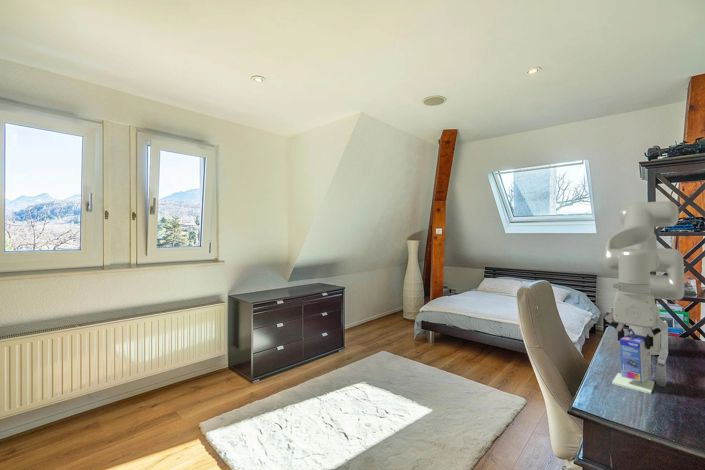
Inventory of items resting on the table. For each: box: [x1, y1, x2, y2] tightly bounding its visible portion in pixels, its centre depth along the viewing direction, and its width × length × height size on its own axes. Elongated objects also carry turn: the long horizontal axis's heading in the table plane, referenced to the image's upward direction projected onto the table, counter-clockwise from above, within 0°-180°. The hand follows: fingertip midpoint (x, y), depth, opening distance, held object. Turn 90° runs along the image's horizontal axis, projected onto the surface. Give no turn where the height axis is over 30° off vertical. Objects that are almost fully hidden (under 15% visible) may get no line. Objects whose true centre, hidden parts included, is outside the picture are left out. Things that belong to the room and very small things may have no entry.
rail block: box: [655, 361, 667, 387], centre depth 102 cm, size 4×2×6 cm, turn 132°
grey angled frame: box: [655, 322, 669, 364], centre depth 110 cm, size 15×11×13 cm
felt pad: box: [611, 372, 656, 395], centre depth 102 cm, size 11×9×1 cm
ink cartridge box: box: [619, 328, 652, 382], centre depth 102 cm, size 10×6×14 cm, turn 124°
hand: (635, 345), depth 102 cm, fingers closed on ink cartridge box, 5 cm apart
